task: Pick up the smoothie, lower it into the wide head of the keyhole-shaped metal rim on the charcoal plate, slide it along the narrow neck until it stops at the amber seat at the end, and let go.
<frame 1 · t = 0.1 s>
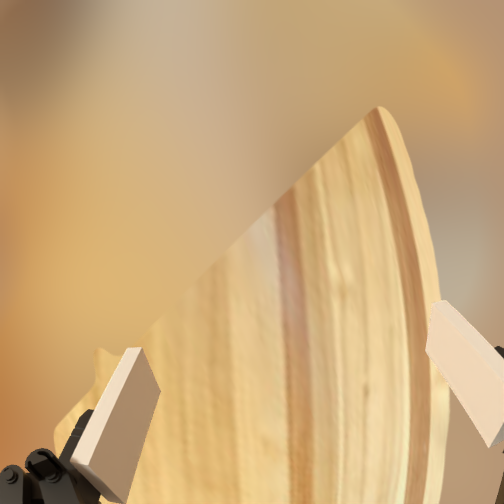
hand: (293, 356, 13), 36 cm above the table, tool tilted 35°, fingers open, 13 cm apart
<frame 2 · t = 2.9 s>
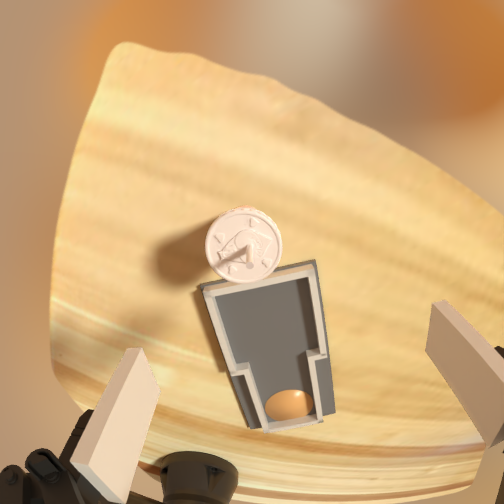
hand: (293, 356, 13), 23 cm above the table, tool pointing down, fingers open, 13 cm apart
smoothie: (245, 221, 35), on the table
keyhole plate: (278, 359, 41), on the table
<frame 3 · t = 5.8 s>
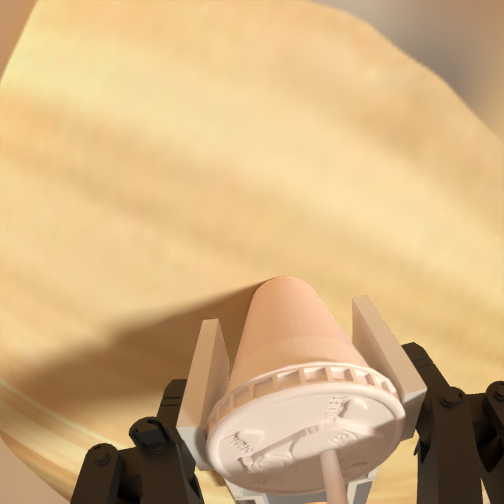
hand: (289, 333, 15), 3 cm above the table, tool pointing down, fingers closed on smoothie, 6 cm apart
smoothie: (283, 305, 17), on the table, touching gripper
keyhole plate: (303, 477, 23), on the table
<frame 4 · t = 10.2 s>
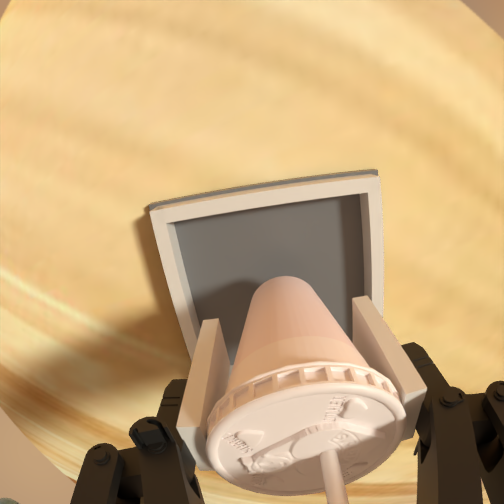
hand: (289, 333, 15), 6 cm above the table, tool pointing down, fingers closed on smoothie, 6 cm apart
smoothie: (283, 305, 17), point 3 cm above the table, touching gripper
keyhole plate: (289, 363, 22), on the table
when the fingers open (4 cm above the table, at t = 14.6 s): smoothie stays where it is, resting on keyhole plate.
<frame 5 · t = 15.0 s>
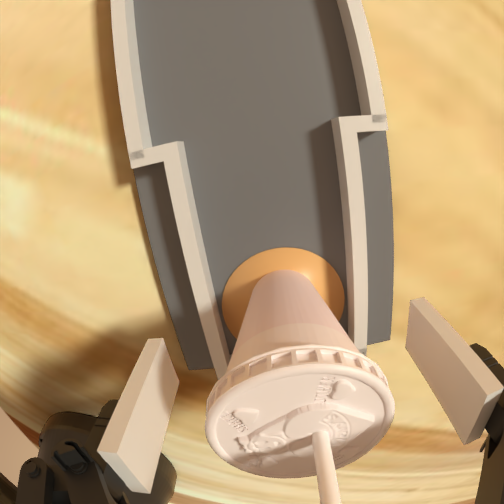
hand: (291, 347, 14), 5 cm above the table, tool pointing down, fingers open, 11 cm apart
smoothie: (283, 297, 18), point 1 cm above the table, touching keyhole plate
keyhole plate: (260, 146, 16), on the table
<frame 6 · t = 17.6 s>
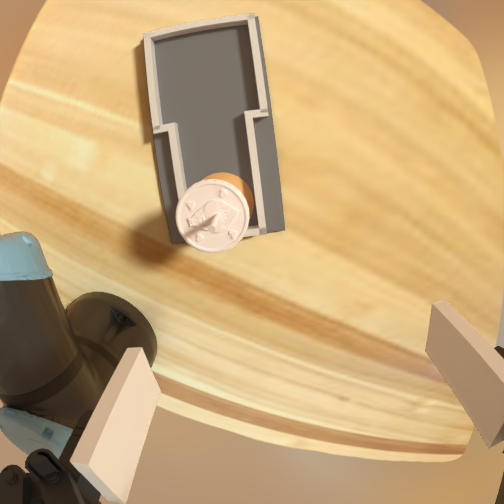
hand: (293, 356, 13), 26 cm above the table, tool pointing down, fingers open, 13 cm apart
smoothie: (221, 199, 36), point 1 cm above the table, touching keyhole plate
keyhole plate: (212, 126, 34), on the table
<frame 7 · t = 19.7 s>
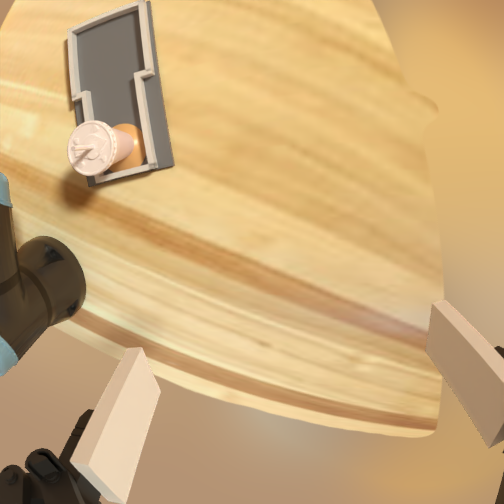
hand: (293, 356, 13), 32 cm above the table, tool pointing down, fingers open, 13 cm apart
smoothie: (122, 145, 39), point 1 cm above the table, touching keyhole plate
keyhole plate: (115, 90, 37), on the table
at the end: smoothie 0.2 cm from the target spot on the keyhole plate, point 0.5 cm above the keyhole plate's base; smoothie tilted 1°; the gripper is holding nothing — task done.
